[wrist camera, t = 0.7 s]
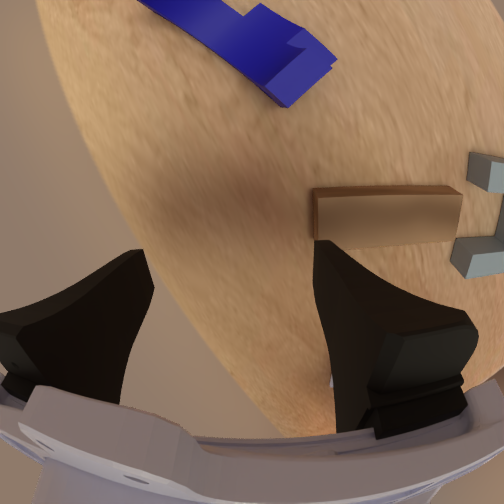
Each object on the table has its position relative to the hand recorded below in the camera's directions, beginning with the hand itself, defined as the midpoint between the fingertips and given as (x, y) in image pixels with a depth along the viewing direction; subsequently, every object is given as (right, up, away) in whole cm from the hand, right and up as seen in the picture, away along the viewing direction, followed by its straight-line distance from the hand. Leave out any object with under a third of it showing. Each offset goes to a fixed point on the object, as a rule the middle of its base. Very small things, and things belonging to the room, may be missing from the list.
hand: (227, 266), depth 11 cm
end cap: (+23, +5, +7) cm, 25 cm away
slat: (+12, +4, +9) cm, 15 cm away
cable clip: (0, +15, +3) cm, 15 cm away
